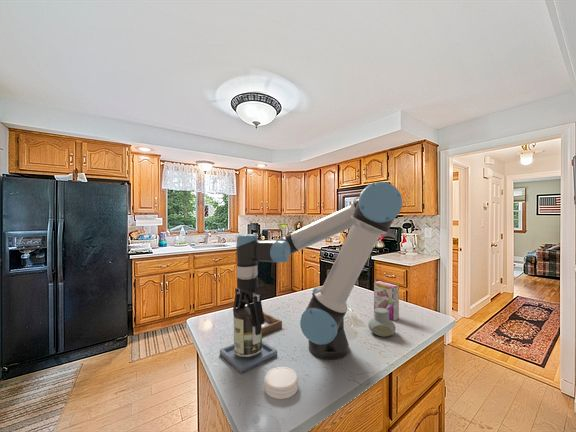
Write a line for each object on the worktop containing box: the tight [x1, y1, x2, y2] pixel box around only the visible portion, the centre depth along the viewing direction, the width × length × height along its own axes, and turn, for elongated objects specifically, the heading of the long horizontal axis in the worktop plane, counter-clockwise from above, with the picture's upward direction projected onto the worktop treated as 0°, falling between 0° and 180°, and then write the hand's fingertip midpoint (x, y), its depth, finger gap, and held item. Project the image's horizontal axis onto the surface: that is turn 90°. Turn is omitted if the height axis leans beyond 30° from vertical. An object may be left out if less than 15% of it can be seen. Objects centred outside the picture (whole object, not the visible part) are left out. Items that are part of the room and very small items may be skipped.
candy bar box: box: [373, 280, 400, 322], centre depth 123 cm, size 11×5×16 cm, turn 34°
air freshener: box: [368, 308, 396, 338], centre depth 106 cm, size 11×8×10 cm
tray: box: [219, 340, 278, 375], centre depth 90 cm, size 15×15×2 cm
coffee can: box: [232, 305, 263, 357], centre depth 90 cm, size 10×10×14 cm
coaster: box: [263, 366, 299, 400], centre depth 73 cm, size 10×10×4 cm
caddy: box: [262, 311, 283, 337], centre depth 113 cm, size 15×15×3 cm
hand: (248, 337), depth 90 cm, fingers closed on coffee can, 10 cm apart
